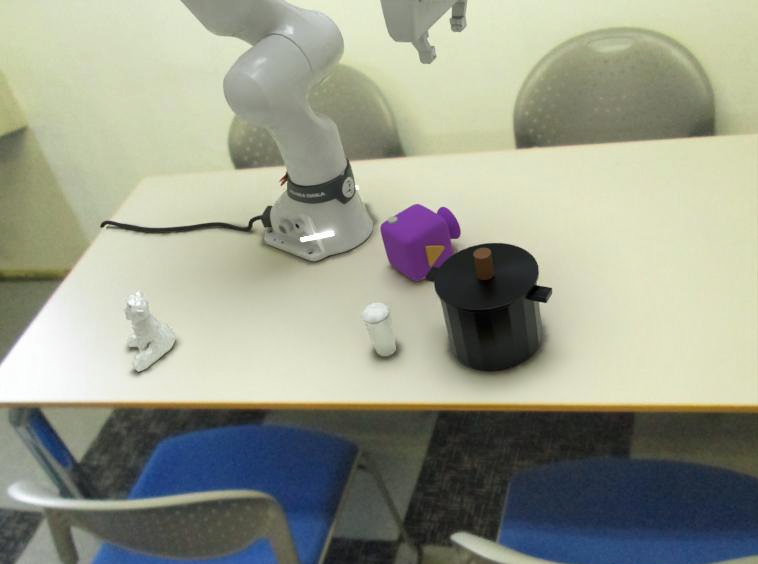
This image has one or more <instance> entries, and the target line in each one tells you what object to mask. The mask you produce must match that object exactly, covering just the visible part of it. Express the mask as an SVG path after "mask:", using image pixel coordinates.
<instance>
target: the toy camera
mask: <svg viewBox="0 0 758 564" xmlns="http://www.w3.org/2000/svg"><path fill="white" fill-rule="evenodd" d="M379 228H380V234H381V239H382V243H383V246H384V250H385V254H386V257H387V260H388V263H389V264H390V265H391V266H392V267H393V268H395V269H396V270H397V271H399V272H400V273H402V274H403V275H404V276H406V277H407V278H409V279H411V280H412V281H414V282H419V281H422V280H423V279H426V275H427V273H428V272H429V271H430V269H431V268H432V267H438V268H439V267H440V266H441V265H442V263H443V262H444V261H446V260H447V259H448V258H449V257H451V256H452V255H454V251H453V245H452V244H453V243H452V240H458V239H460V237H461V233H462V231H461V226H460V223H459V221H458V219H457V217H456V215H455V214H454V213H453V211H451V210H450V208H448V207H445V206H440V207H439V208H438V209H437V211H436V212H435V211H433V210H432V209H430V208H428V207H426V206H425V205H423V204H420V203H415V204H413V205H410V206H409V207H407V208H405V209H403V210H401V211H400V212H398V213H397V214H395V215H391V216H389V217H388V218H387V219H386V220H385V221H384V222H382V223H381V224H380V227H379Z"/></svg>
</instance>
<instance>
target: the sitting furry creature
mask: <svg viewBox="0 0 758 564" xmlns="http://www.w3.org/2000/svg"><path fill="white" fill-rule="evenodd" d="M125 302H126V307H124V309H123V311H124V314H125V319H126V320H127V321H130V322H131V325H132V326H131V328H132V331H133V333H132V334H130V335H128V336H127V339H126V343H127V346H128V347H129V348H138V353H137V354H136V355H135V356H134V359H133V360H132V361H131V365H132V368H133V369H134V370H135V371H137V372H138V373H140V372H142V371H145V370H146V369H149V367H150V366H151V365H153V364H154V363H155V362H157V361H158V360H159V359H160V358H162V357H163V356H164V355H165V354H167V353H168V352H170V351H171V350H172V348H173V347H174V344H175V342H176V340H175V339H176V333H175V331H174V330H173V328H172V327H171V325H169V323H165V322H162V321H161V320H158V319H157V317H156V316H155V314H153V313H151V312H150V305H149V301H148V300H147V299H146V298H145V295H144V293H143V291H141V290H140V289H138V290H137V291H136V292H135V294H130V295H128V296H127V298H126V299H125Z"/></svg>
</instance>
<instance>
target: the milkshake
mask: <svg viewBox="0 0 758 564" xmlns="http://www.w3.org/2000/svg"><path fill="white" fill-rule="evenodd" d="M390 305H393V302H391V303H390ZM391 307H392V306H390V307H389V306H388V305H387V304H386V303H383V302H371V303H369V304H368V305H366V306H365V307H364V308H363V310H362V312H361V319H362V321H363V323H364V326H365V327H366V330H367V332H368V335H369V337H370V340H371V341H372V344H373V347H374V349H375V351H376V353H377V355H379V356H380V357H390V356H391V355H394V354H395V353H396V351H397V346H396V339H395V336H394V329H393V323H392V315H391Z"/></svg>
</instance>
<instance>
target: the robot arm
mask: <svg viewBox="0 0 758 564" xmlns="http://www.w3.org/2000/svg"><path fill="white" fill-rule="evenodd" d="M179 1H180V2H181V3H182V4H183V5H184V6H185V7H186V9H188V10H189V12H190V13H191V14H192V16H194V17H195V19H196V20H197V21H199V23H200V24H201V25H202V26H203V27H204V28H205V29H206V30H207V31H208V32H209V33H211V34H213V35H215V36H219V37H229V38H235V39H238V40H241V41H243V42H245V43H247V44H249V45H250V46H251V47H250V48H248V49H247V50H246V51H245V52H243V53H242V54H240V55H239V56H238V58H237V59H236V61H235V62H234V63H233V64H232V65H231V66H230V68H229V70H228V71H227V72H226V73H225V75H224V77H223V79H222V91H223V95H224V98H225V101H226V103H227V105H228V107H229V109H230V110H231V111H232V112H233V113H234V114H235V115H236V117H237V118H239V119H240V120H241V121H243V122H245V123H247V124H249V125H252V126H256V127H260V128H262V129H264V131H266V133H267V134H269V135H270V137H271V138H272V140H273V141H274V142H275V145H276V146H277V149H278V151H279V153H280V156H281V158H282V161H283V163H284V167H285V169H286V171H285V174H284V175H283V176H282V177H281V178H280V179H279V181H278V182H279V183H280V187H282V186H283V185H284V184H285V183H286V189H285V191H283V193H282V194H281V195H280V196H279V197H278V198H277V200H276V201H275V202H274V203H273V204H272V205H267V206H266V207H265V209H264V211H263V213H262V214H260V215H256V216H253V217H251V218H250V219H249V220H248V225H247V226H237V225H234V224H231V223H227V222H220V221H216V222H215V221H214V222H213V221H212V222H204V223H203V222H202V223H198V224H190V225H181V226H170V227H169V226H168V227H146V226H139V225H134V224H129V223H123V222H122V223H121V222H117V221H114V220H104V221H102V222H101V223H100V226H99V228H100V229H102V228H104V227H105V226H107V225H109V226H110V225H111V226H115V227H118V228H125V229H131V230H136V231H139V232H148V233H149V232H150V233H165V232H179V231H189V230H190V231H191V230H197V229H203V228H204V229H205V228H210V227H222V228H228V229H231V230H234V231H239V232H249V231H251V230H252V228H253V224H254V223H255V222H256V221H261V223H262V227H263V228H265V229H266V230H265V233H264V236H263V240H264V243H265V244H266V245H268V246H271V247H274V248H275V249H276V248H277V249H279V250H282V251H284V252H287V253H289V254H292V255H294V256H297V257H299V258H302V259H304V260H307V261H310V262H318V261H321V260H323V259H325V258H327V257H329V256H333V255H337V254H342V253H345V252H347V251H351V250H353V249H354V248H356V247H358V246H360V245H361V244H362V243H363V242H365V241H366V240H367V239H368V238H369V237H370V236H371V234H372V232H373V230H374V221H373V218H372V217H371V216H370V214H369V212H368V211H367V207H366V205H365V202H363V200H362V198H361V196H360V193H359V191H358V190H359V189H360V187H359V185H356V181H355V175H354V172H353V169H352V164H351V163H350V162H351V161H350V160H349V158H347V156H346V153H345V149H344V146H343V142H342V138H341V135H340V131H339V128H338V126H337V124H336V122H335V121H334V120H333V119H332V118H331V117H330V116H328V115H326V114H324V113H321V112H318V111H313V109H312V107H311V105H310V102H309V95H310V93H311V92H312V91H313V90H315V89H316V88H317V87H318V86H320V85H321V84H322V83H323V82H324V81H325V80H327V79H328V78H329V77H330V76H331V75H332V74H333V71H335V69H336V67H337V66H338V64H339V63H340V61H341V60H342V58H343V55H344V53H345V42H344V38H343V34H342V32H341V30H340V28H339V27H338V24H337V23H336V22H335V21H334V20H333V18H331V17H330V16H329V15H327V14H326V13H324V12H322V11H320V10H315V9H314V10H313V9H306V8H302V7H299V6H296V5H294V4H292V3H290V2H288V1H286V0H179ZM379 1H380V6H381V10H382V15H383V19H384V23H385V27H386V30H387V33H388V35H389V37H390V38H391V39H392V40H393V41H394V42H395V43H410V44H411V45H412V46H413V47H414V48H415V50H416V51H417V53H418V57H419V58H418V59H419V62H420V63H421V64H423V65H431V64H432V63H433V62H434V61H435V60H436V59H437V53H436V47H435V45H431V43H430V42H429V40H428V38H430V35H429V30H430V29H431V28H432V27H433V26H434V25H435V24H436V23H437V22H438V21H439V20H440V19H441V18H442V17H443V16H444V15H445V14H446V13H447V12H448V11H449V10H450V9H451V17H450V18H449V25H450V30H451V31H452V33H462V32H463V31H464V30H465V29H466V28H467V26H468V23H467V17H466V14H467V7H468V0H379Z"/></svg>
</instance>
